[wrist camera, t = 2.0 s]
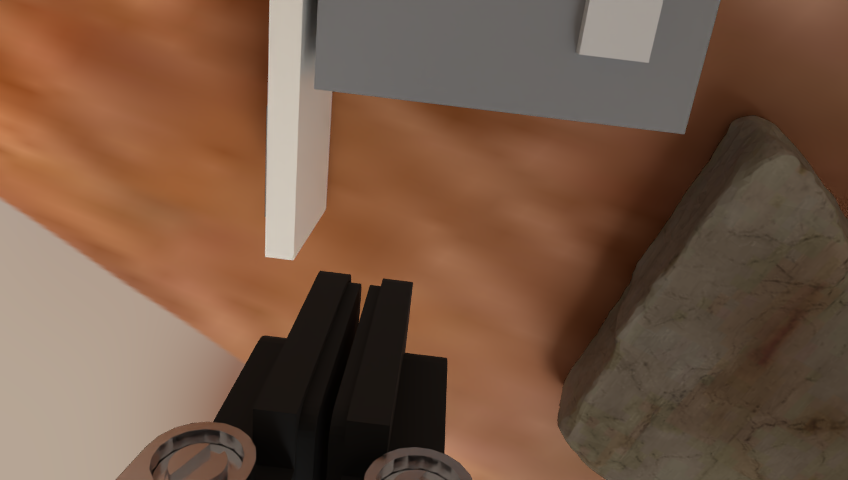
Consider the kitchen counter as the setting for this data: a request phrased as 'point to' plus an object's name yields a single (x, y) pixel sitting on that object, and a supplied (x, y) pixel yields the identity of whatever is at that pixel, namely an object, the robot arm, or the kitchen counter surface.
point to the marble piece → (726, 332)
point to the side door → (294, 130)
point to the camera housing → (522, 56)
